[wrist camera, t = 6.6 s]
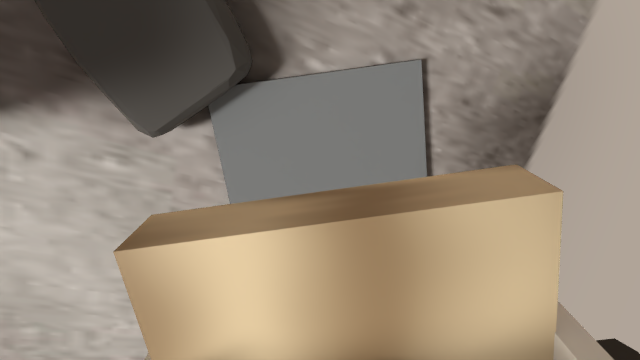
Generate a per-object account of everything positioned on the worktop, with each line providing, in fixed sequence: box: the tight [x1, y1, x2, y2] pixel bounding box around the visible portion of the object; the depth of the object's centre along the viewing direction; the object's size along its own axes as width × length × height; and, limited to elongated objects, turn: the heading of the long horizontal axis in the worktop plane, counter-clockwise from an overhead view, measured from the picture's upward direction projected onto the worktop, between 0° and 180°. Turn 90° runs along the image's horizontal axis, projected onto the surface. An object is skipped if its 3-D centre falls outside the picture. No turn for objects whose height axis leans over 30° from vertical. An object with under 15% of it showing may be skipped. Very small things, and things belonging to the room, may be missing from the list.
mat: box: [208, 59, 427, 204], centre depth 31 cm, size 16×16×1 cm
